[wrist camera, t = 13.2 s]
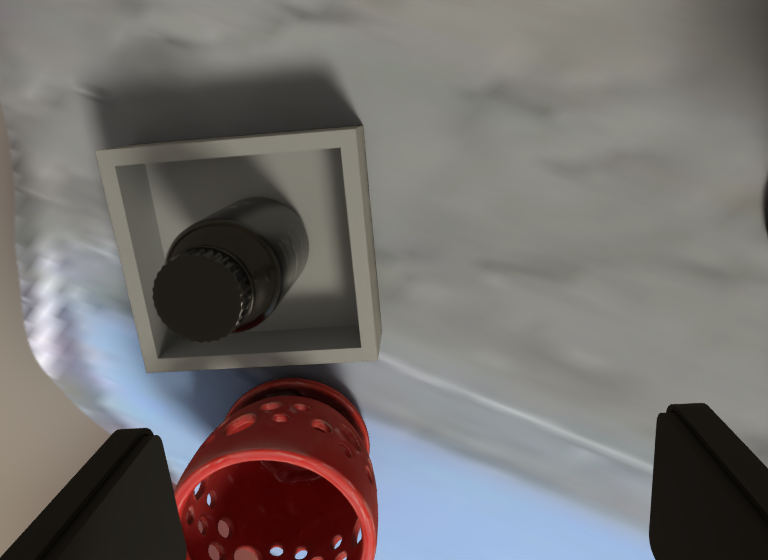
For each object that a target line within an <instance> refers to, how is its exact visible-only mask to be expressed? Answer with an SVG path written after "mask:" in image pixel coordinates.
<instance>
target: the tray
mask: <svg viewBox="0 0 768 560" xmlns="http://www.w3.org/2000/svg"><path fill="white" fill-rule="evenodd" d="M95 152H96V156H97V160H98V165H99V169H100V173H101V178H102V182H103V186H104V191H105V195H106V199H107V204H108V208H109V212H110V217H111V221H112V225H113V230H114V234H115V238H116V243H117V247H118V251H119V256H120V260H121V264H122V269H123V273H124V277H125V282H126V286H127V290H128V295H129V299H130V303H131V308H132V312H133V316H134V321H135V325H136V329H137V334H138V338H139V342H140V347H141V351H142V355H143V360H144V364H145V368H146V373H154V372H173V371H192V370H211V369H230V368H249V367H268V366H287V365H306V364H325V363H344V362H363V361H378V355H379V348H380V342H381V335H382V326H381V315H380V304H379V294H378V283H377V272H376V261H375V250H374V239H373V228H372V217H371V206H370V195H369V184H368V173H367V162H366V151H365V140H364V129H363V125H360V126H348V127H336V128H324V129H313V130H301V131H289V132H277V133H265V134H254V135H242V136H230V137H218V138H206V139H195V140H183V141H171V142H159V143H148V144H136V145H129V146H122V147H116V148H110V149H104V150H97V151H95ZM249 197H266V198H270V199H274V200H276V201H279V202H281V203H283V204H284V205H286V206H287V207H289V208H290V209H291V210H292V211H293V212H294V213H295V214H296V215H297V216H298V217H299V219H300V220H301V222H302V223H303V225H304V227H305V229H306V232H307V235H308V240H309V256H308V260H307V263H306V266H305V268H304V270H303V271H302V273H301V275H300V276H299V278H298V279H297V280H296V282H295V283H294V284H293V286H292V287H291V288H290V290H289V291H288V292H287V294H286V295H285V296H284V298H283V299H282V301H281V302H280V303H279V305H278V306H277V307H276V309H275V310H274V311H273V312H272V314H271V315H270V316H269V317H268V318H267V319H266V320H265V321H263V322H262V323H261V324H259V325H258V326H256V327H254V328H252V329H250V330H248V331H244V332H240V333H234V334H228V336H226V337H223V338H221V339H219V340H216V341H215V340H213V341H212V342H202V343H200V342H197V341H193V342H192V341H190V340H189V339H183V338H182V337H181V336H180V335H176V334H175V333H174V332H173V331H172V330H170V329H168V327H167V326H166V324H164V323H163V322H162V320H161V318H160V317H159V316H158V315H157V310H156V309H155V307H154V301H153V299H152V296H153V291H152V288H153V287H154V280H155V279H156V278H157V273H158V272H159V271H160V270H161V268H162V266H163V265H164V264H165V259H166V255H167V252H168V250H169V248H170V246H171V244H172V242H173V241H174V239H175V238H176V237H177V236H178V235H179V234H180V233H181V232H182V231H183V230H185V229H186V228H187V227H189V226H191V225H192V224H194V223H196V222H198V221H200V220H201V219H203V218H205V217H207V216H209V215H211V214H213V213H215V212H217V211H219V210H221V209H223V208H224V207H226V206H228V205H230V204H232V203H234V202H237V201H239V200H242V199H245V198H249Z"/></svg>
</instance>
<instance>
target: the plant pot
mask: <svg viewBox="0 0 768 560" xmlns="http://www.w3.org/2000/svg"><path fill="white" fill-rule="evenodd" d="M369 450H370V443H369V436H368V432H367V428H366V425H365V423H364V421H363V419H362V417H361V415H360V414H359V412H358V411H357V409H356V408H355V407H354V406H353V405H352V403H351V402H350V401H349V400H348V399H347V398H346V397H344V396H343V395H342V394H340V393H339V392H338V391H336V390H334V389H333V388H331V387H329V386H327V385H325V384H322V383H319V382H316V381H313V380H308V379H301V378H283V379H276V380H272V381H268V382H265V383H263V384H260V385H258V386H256V387H254V388H253V389H251V390H249V391H248V392H247V393H245V394H244V395H243V396H242V397H240V398H239V399H238V400H237V401H236V403H235V404H234V405H233V406H232V408H231V409H230V411H229V412H228V414H227V416H226V418H225V420H224V422H223V423H221V424H220V425H219V426H218V427H217V428H216V429H215V430H214V431H213V432H212V433H211V434H210V435H209V437H208V438H207V439H206V440H205V441H204V443H203V444H202V445H201V446H200V448H199V449H198V451H197V452H196V454H195V455H194V457H193V458H192V460H191V461H190V463H189V464H188V466H187V468H186V469H185V471H184V473H183V474H182V476H181V478H180V480H179V482H178V484H177V486H176V488H175V491H174V495H175V499H176V504H177V508H178V512H179V517H180V521H181V525H182V530H183V534H184V538H185V542H186V548H187V557H186V560H212V559H211V558H210V556H209V553H208V547H209V545H210V544H211V545H214V546H215V547H216V549H217V550H218V551H219V555H220V559H219V560H234V553H235V551H236V550H238V549H246V550H248V551H251V552H252V553H253V554H254V555H255V556H256V557H257V558H258V560H342V559H344V558H345V557H346V556H347V559H346V560H374V557H375V553H376V546H377V531H378V503H377V488H376V482H375V477H374V472H373V467H372V463H371V460H370V457H369ZM200 482H201V484H200V488H199V490H198V492H197V494H196V495H194V494H195V492H194V489H195V487H196V486H197V485H198V484H199V483H200ZM208 494H210V497H211V503H210V506H209V505H208V504H207V496H208ZM187 511H188V515H187ZM186 516H187V518H186ZM199 520H200V521H201V523H202V526H203V531H202V533H200V531H199V529H198V522H199ZM220 520H223V521H225V522H226V523H227V525H228V527H229V535H228V537H227V538H224V537H222V536H221V535H220V534H219V531H218V523H219V521H220ZM360 528H361V532H362V538H361V540H360V542H359V543H357V537H358V534H359V531H360ZM341 539H342V541H341V544H340V546H339V547H337V548H336V549H334V547H335V545H336V544H337V542H338V541H339V540H341ZM274 547H279V548H281V549H283V553H282V554H281V555H280V556H273V555H272V554H271V553H270V550H271V549H272V548H274ZM302 550H306V551H307V552H308V553H307V555H306V557H305V558H303V559H295V555H296V554H297V553H298V552H299V551H302Z"/></svg>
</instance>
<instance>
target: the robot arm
mask: <svg viewBox="0 0 768 560" xmlns="http://www.w3.org/2000/svg"><path fill="white" fill-rule="evenodd" d="M649 540H650V546H651V550H652V553H653V555H654V557H655V559H656V560H768V468H767V467H766V466H765V465H764V464H763V463H762V462H761V461H760V460H759V459H758V458H757V457H756V455H755V454H754V453H753V452H752V451H751V450H750V449H749V448H748V447H747V446H746V445H745V444H744V443H743V442H742V441H741V440H740V439H739V438H738V437H737V436H736V435H735V433H734V432H733V431H732V430H731V429H730V428H729V427H728V426H727V425H726V424H725V423H724V422H723V421H722V420H721V419H720V418H719V417H718V416H717V415H716V414H715V413H714V411H713V410H712V409H711V408H710V407H709V406H708V405H706V404H705V403H691V404H671V405H669V406H668V408H667V411H666V413H660V414H659V415H658V417H657V424H656V439H655V453H654V468H653V482H652V497H651V511H650V526H649ZM186 557H187V548H186V542H185V538H184V534H183V530H182V525H181V521H180V517H179V512H178V508H177V504H176V499H175V495H174V491H173V486H172V482H171V478H170V473H169V469H168V465H167V460H166V456H165V452H164V447H163V443H162V440H161V438H160V437H159V436H158V435H153V432H152V431H151V430H150V429H148V428H136V429H119V430H116V431H115V432H114V433H113V434H112V435H111V436H110V437H109V438H108V439H107V441H106V442H105V443H104V444H103V445H102V446H101V447H100V448H99V449H98V451H97V452H96V453H95V454H94V455H93V456H92V457H91V458H90V459H89V460H88V461H87V463H86V464H85V465H84V466H83V467H82V468H81V469H80V470H79V472H78V473H77V474H76V475H75V476H74V477H73V478H72V479H71V480H70V481H69V482H68V484H67V485H66V486H65V487H64V488H63V489H62V490H61V491H60V492H59V493H58V495H57V496H56V497H55V498H54V499H53V500H52V501H51V503H49V504H48V506H47V507H46V508H45V509H44V510H43V511H42V512H41V513H40V514H39V516H38V517H37V518H36V519H35V520H34V521H33V522H32V523H31V524H30V525H29V527H28V528H27V529H26V530H25V531H24V532H23V533H22V534H21V535H20V536H19V538H18V539H17V540H16V541H15V542H14V543H13V544H12V545H11V547H9V549H8V550H7V551H6V552H5V553H4V554H3V555H2V556H1V558H0V560H186Z"/></svg>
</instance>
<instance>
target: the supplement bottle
mask: <svg viewBox="0 0 768 560" xmlns="http://www.w3.org/2000/svg"><path fill="white" fill-rule="evenodd" d="M308 256H309V240H308V235H307V232H306V229H305V227H304V225H303V223H302V222H301V220H300V219H299V217H298V216H297V215H296V214H295V213H294V212H293V211H292V210H291V209H290V208H289V207H287V206H286V205H284V204H283V203H281V202H279V201H276V200H274V199H270V198H266V197H249V198H245V199H242V200H239V201H237V202H234V203H232V204H230V205H228V206H226V207H224V208H223V209H221V210H219V211H217V212H215V213H213V214H211V215H209V216H207V217H205V218H203V219H201V220H200V221H198V222H196V223H194V224H192V225H191V226H189V227H187V228H186V229H185V230H183V231H182V232H181V233H180V234H179V235H178V236H177V237H176V238H175V239H174V241H173V242H172V244H171V246H170V248H169V250H168V252H167V255H166V259H165V264H164V265H163V266H162V268H161V270H160V271H159V272H158V273H157V278H156V279H155V280H154V287H153V288H152V291H153V296H152V299H153V301H154V307H155V309H156V310H157V315H158V316H159V317H160V318H161V320H162V322H163V323H164V324H166V326H167V327H168V329H170V330H172V331H173V332H174V333H175V334H176V335H180V336H181V337H182V338H183V339H189V340H190V341H192V342H193V341H197V342H200V343H202V342H212V341H213V340H215V341H216V340H219V339H221V338H223V337H226V336H228V334H234V333H240V332H244V331H248V330H250V329H252V328H254V327H256V326H258V325H259V324H261V323H262V322H263V321H265V320H266V319H267V318H268V317H269V316H270V315H271V314H272V312H273V311H274V310H275V309H276V307H277V306H278V305H279V303H280V302H281V301H282V299H283V298H284V296H285V295H286V294H287V292H288V291H289V290H290V288H291V287H292V286H293V284H294V283H295V282H296V280H297V279H298V278H299V276H300V275H301V273H302V271H303V270H304V268H305V266H306V263H307V260H308Z"/></svg>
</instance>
